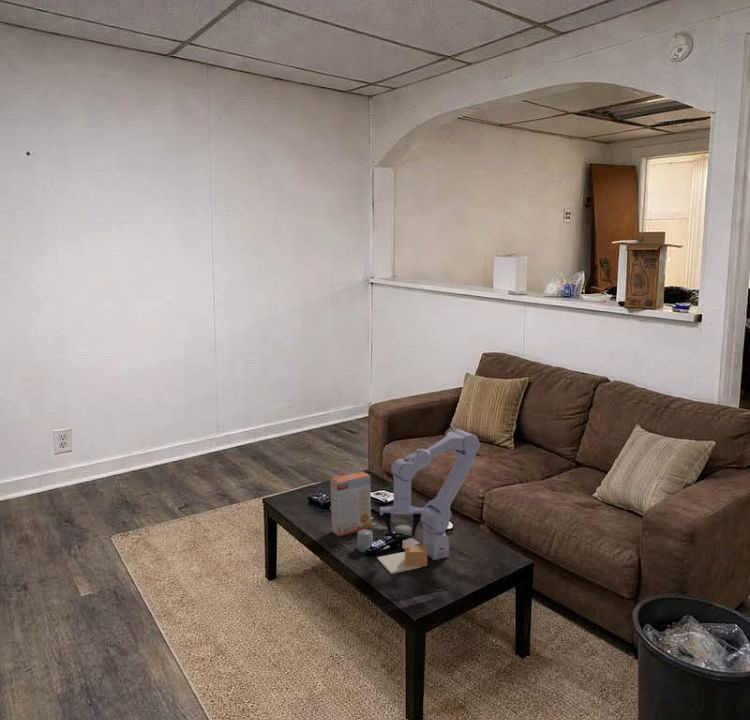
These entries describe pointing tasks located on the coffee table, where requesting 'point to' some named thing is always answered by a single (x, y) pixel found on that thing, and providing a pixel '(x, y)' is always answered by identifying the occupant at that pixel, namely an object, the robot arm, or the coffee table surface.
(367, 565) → the coffee table surface
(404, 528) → the matte grey ellipsoid
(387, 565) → the ceramic tile
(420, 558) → the terracotta block
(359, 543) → the grey rounded capsule
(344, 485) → the cracker box
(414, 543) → the metal tin
